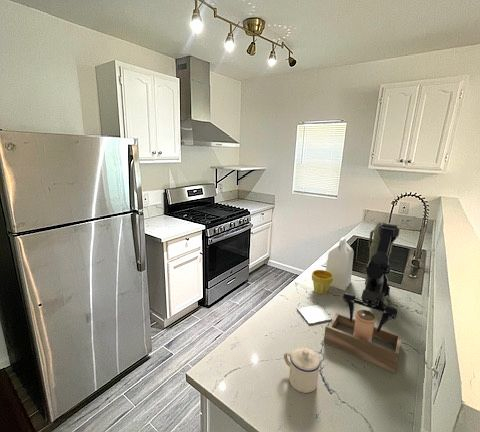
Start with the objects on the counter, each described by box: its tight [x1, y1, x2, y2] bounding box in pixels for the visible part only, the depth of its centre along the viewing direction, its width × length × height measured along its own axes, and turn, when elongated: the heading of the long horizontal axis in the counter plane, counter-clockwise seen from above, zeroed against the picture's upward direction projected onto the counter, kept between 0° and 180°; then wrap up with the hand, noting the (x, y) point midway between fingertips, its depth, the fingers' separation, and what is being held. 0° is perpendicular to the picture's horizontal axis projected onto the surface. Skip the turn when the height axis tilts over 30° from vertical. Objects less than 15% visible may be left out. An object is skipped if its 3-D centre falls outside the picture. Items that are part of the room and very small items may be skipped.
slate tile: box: [296, 304, 333, 326], centre depth 116 cm, size 11×11×1 cm
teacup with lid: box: [283, 346, 321, 394], centre depth 83 cm, size 12×9×12 cm
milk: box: [325, 236, 354, 291], centre depth 142 cm, size 12×12×26 cm
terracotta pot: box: [352, 309, 377, 343], centre depth 97 cm, size 7×7×13 cm
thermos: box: [364, 222, 394, 286], centre depth 139 cm, size 9×12×35 cm
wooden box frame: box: [323, 312, 402, 374], centre depth 99 cm, size 16×24×7 cm, turn 55°
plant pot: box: [311, 269, 333, 295], centre depth 135 cm, size 10×10×10 cm
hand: (363, 327), depth 97 cm, fingers open, 9 cm apart
